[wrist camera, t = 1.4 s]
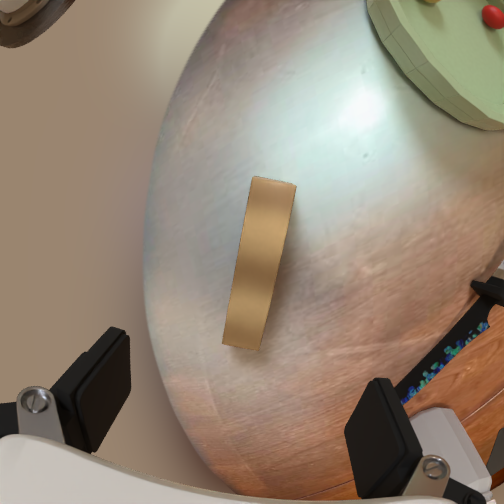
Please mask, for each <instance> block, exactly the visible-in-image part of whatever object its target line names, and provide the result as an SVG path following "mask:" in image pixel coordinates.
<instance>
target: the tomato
mask: <svg viewBox="0 0 504 504" xmlns="http://www.w3.org/2000/svg"><path fill="white" fill-rule="evenodd" d="M482 18H483V20H484V21H485V23H486V24H487V25H488V26H490V27H491V28H493V29H502V28H503V27H504V14H503V12H502V11H501V10H500V9H499V8H497V7H496V6H493V5H486V6H485V7H483V9H482Z"/></svg>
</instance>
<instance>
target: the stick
mask: <svg viewBox="0 0 504 504" xmlns="http://www.w3.org/2000/svg"><path fill="white" fill-rule="evenodd" d="M295 192H296V185H294V184H292V183H288V182H283V181H278V180H273V179H268V178H263V177H258V176H254V177H253V178H252V182H251V187H250V192H249V197H248V203H247V208H246V213H245V218H244V224H243V229H242V234H241V240H240V245H239V251H238V256H237V261H236V267H235V272H234V278H233V283H232V289H231V294H230V300H229V306H228V311H227V317H226V323H225V328H224V334H223V340H222V344H224V345H229V346H234V347H240V348H245V349H250V350H256V351H259V348H260V344H261V340H262V336H263V332H264V328H265V324H266V320H267V316H268V312H269V307H270V303H271V299H272V295H273V291H274V286H275V282H276V278H277V273H278V269H279V265H280V260H281V256H282V251H283V247H284V243H285V238H286V234H287V229H288V224H289V220H290V215H291V211H292V206H293V201H294V196H295Z"/></svg>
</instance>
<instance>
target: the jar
mask: <svg viewBox="0 0 504 504" xmlns="http://www.w3.org/2000/svg"><path fill="white" fill-rule="evenodd" d="M409 420H410V422H411V425H412V427H413V429H414V431H415V433H416V436H417V438H418V440H419V442H420V445H421V447H422V449H423V452H422V453H423V456H426V455H437V456H440V457H442V458H443V459H445V461H446V462H447V463H448V464H449V466H450V470H451V473H450V478H452V479H454V480H456V481H458V482H460V483H462V484H464V485H466V486H468V487H470V488H472V489H474V490H477V491H478V492H480V493H481V494H482V495H483V496H484V497H485V499H486V503H487V504H496V501H495V500H490V499H491V497H492V492H491V491H489V490H490V487H491V483H492V479H491V476H490V474H489V472H488V470H487V468H486V467H485V465H484V463H483V461H482V459H481V457H480V456H479V454H478V452H477V450H476V448H475V447H474V445H473V443H472V441H471V440H470V438H469V436H468V435H467V433H466V431H465V430H464V428H463V426H462V425H461V423H460V421H459V420H458V418H457V416H456V415H455V413H454V411H453V410H452V409H446V408H438V407H433V408H430V409H427V410H423V411H420V412H418V413H417V414H415V415H414V416H412V417H411V418H409Z"/></svg>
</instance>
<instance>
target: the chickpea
mask: <svg viewBox="0 0 504 504" xmlns="http://www.w3.org/2000/svg"><path fill="white" fill-rule="evenodd" d="M424 1H426V2H429V3H437V2H439V1H440V0H424Z"/></svg>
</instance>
